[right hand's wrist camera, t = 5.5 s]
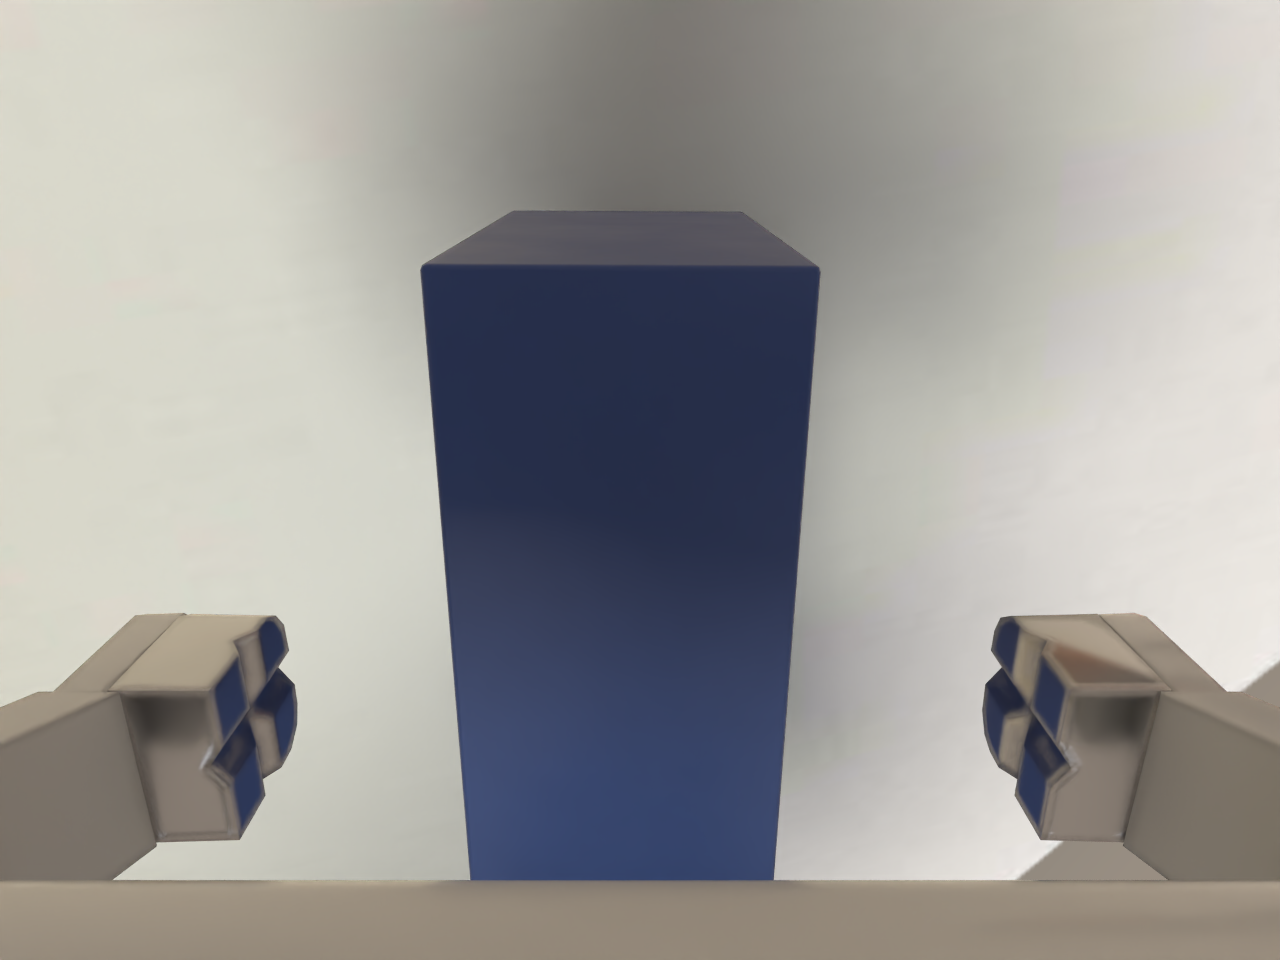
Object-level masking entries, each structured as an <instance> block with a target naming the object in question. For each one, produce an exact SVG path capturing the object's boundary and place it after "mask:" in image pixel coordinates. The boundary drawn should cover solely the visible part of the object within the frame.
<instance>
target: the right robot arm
mask: <svg viewBox="0 0 1280 960" xmlns="http://www.w3.org/2000/svg"><path fill="white" fill-rule="evenodd" d="M288 651H289V648H288V643H287V638H286V633H285V628H284V624H283V623H282V622H281V621H280V620H279V619H278V618H277V617H276V616H268V615H215V614H189V615H187V614H185V613H169V614H144V615H135V616H134V617H133V618H132V619H131V620H130V621H129V622H128V623H127V624H125V625H124V626H123V627H122V628H121V629H120V630H119V631H118V632H117V633H116V634H115V635H114V636H113V637H111V638H110V639H109V640H108V641H107V642H106V643H105V644H104V645H103V646H102V647H101V648H100V649H99V650H97V651H96V652H95V653H94V654H93V655H92V656H91V657H90V658H89V659H88V660H87V661H86V662H85V663H83V664H82V665H81V666H80V667H79V668H78V669H77V670H76V671H75V672H74V673H73V674H72V675H71V676H69V677H68V678H67V679H66V680H65V681H64V682H63V683H62V684H61V685H60V686H59V687H58V688H57V689H55V690H54V691H53V692H37V693H34V694H32V695H29V696H27V697H24V698H22V699H20V700H17V701H15V702H12V703H10V704H7V705H5V706H3V707H0V960H1280V707H1277V706H1275V705H1272V704H1270V703H1268V702H1265V701H1263V700H1260V699H1258V698H1256V697H1253V696H1251V695H1248V694H1246V693H1243V692H1227V691H1226V690H1225V689H1224V688H1222V687H1221V686H1220V685H1219V684H1218V683H1217V682H1216V681H1215V680H1214V679H1213V678H1212V677H1211V676H1210V675H1208V674H1207V673H1206V672H1205V671H1204V670H1203V669H1202V668H1201V667H1200V666H1199V665H1198V664H1197V663H1196V662H1195V661H1193V660H1192V659H1191V658H1190V657H1189V656H1188V655H1187V654H1186V653H1185V652H1184V651H1183V650H1182V649H1181V648H1179V647H1178V646H1177V645H1176V644H1175V643H1174V642H1173V641H1172V640H1171V639H1170V638H1169V637H1168V636H1167V635H1166V634H1164V633H1163V632H1162V631H1161V630H1160V629H1159V628H1158V627H1157V626H1156V625H1155V624H1154V623H1153V622H1152V621H1150V620H1149V619H1148V618H1147V617H1146V616H1143V615H1140V614H1136V613H1120V614H1077V615H1036V616H1009V617H1002V618H1000V620H999V622H998V624H997V627H996V629H995V631H994V637H993V642H992V648H991V651H992V653H993V654H994V656H995V657H996V659H997V660H998V662H999V664H1000V665H1001V667H1002V668H1001V669H1000V670H999V671H998V672H997V673H996V674H995V675H994V676H993V677H992V678H991V679H990V680H989V681H988V682H987V683H986V684H985V692H984V700H983V708H982V712H983V723H984V734H985V737H986V740H987V744H988V747H989V750H990V752H991V754H992V756H993V758H994V760H995V762H996V763H997V765H998V767H999V768H1001V769H1002V770H1004V771H1005V772H1007V773H1009V774H1010V775H1012V776H1013V777H1015V778H1016V779H1017V784H1016V790H1015V797H1016V799H1017V800H1018V802H1019V804H1020V805H1021V807H1022V809H1023V811H1024V812H1025V814H1026V816H1027V818H1028V819H1029V821H1030V823H1031V824H1032V826H1033V828H1034V830H1035V831H1036V833H1037V835H1038V836H1039V838H1040V840H1059V841H1097V842H1124V844H1123V846H1124V847H1125V848H1127V849H1128V850H1129V851H1131V852H1132V853H1133V854H1135V855H1136V856H1137V857H1139V858H1140V859H1141V860H1142V861H1144V862H1145V863H1146V864H1148V865H1149V866H1150V867H1152V868H1153V869H1154V870H1156V871H1157V872H1158V873H1160V874H1161V875H1162V876H1164V877H1165V878H1166V879H1168V880H113V879H114V878H115V877H117V876H118V875H119V874H121V873H122V872H123V871H125V870H126V869H127V868H129V867H130V866H131V865H133V864H134V863H135V862H137V861H138V860H139V859H140V858H142V857H143V856H144V855H146V854H147V853H148V852H150V851H151V850H152V849H154V848H155V847H156V846H157V844H156V842H183V841H219V840H240V838H241V837H242V835H243V833H244V831H245V830H246V828H247V826H248V825H249V823H250V821H251V819H252V818H253V816H254V814H255V812H256V811H257V809H258V807H259V806H260V804H261V802H262V800H263V799H264V797H265V790H264V784H263V779H264V778H265V777H267V776H268V775H270V774H272V773H273V772H275V771H276V770H278V769H279V768H281V767H282V765H283V763H284V762H285V760H286V758H287V756H288V754H289V752H290V750H291V748H292V743H293V739H294V735H295V731H296V727H297V698H296V691H295V684H294V683H293V682H292V681H291V680H290V679H289V678H288V677H287V676H286V675H285V674H284V673H283V672H282V671H281V670H280V669H279V668H278V667H279V665H280V664H281V662H282V660H283V659H284V657H285V656H286V654H287V653H288Z"/></svg>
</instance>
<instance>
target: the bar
mask: <svg viewBox="0 0 1280 960" xmlns="http://www.w3.org/2000/svg"><path fill="white" fill-rule="evenodd" d="M420 271H421V283H422V295H423V308H424V320H425V332H426V344H427V356H428V369H429V381H430V393H431V405H432V417H433V429H434V442H435V454H436V466H437V478H438V490H439V503H440V515H441V527H442V539H443V551H444V563H445V576H446V588H447V600H448V612H449V624H450V637H451V649H452V661H453V673H454V685H455V697H456V710H457V722H458V734H459V746H460V758H461V771H462V783H463V795H464V807H465V819H466V831H467V844H468V856H469V868H470V880H774V869H775V856H776V843H777V830H778V817H779V804H780V791H781V778H782V765H783V752H784V739H785V726H786V713H787V700H788V687H789V675H790V662H791V649H792V636H793V623H794V610H795V597H796V584H797V571H798V558H799V545H800V532H801V519H802V506H803V493H804V480H805V468H806V455H807V442H808V429H809V416H810V403H811V390H812V377H813V364H814V351H815V338H816V325H817V312H818V299H819V286H820V273H821V272H820V269H819V267H818V266H816V265H815V264H814V263H812V262H811V261H809V260H808V259H807V258H805V257H804V256H803V255H801V254H800V253H798V252H797V251H796V250H794V249H793V248H791V247H790V246H789V245H787V244H786V243H784V242H783V241H782V240H780V239H779V238H777V237H776V236H775V235H773V234H772V233H770V232H769V231H768V230H766V229H765V228H763V227H762V226H761V225H759V224H758V223H756V222H755V221H754V220H752V219H751V218H750V217H748V216H747V215H745V214H744V213H742V212H675V211H512V212H510V213H509V214H507V215H505V216H504V217H502V218H500V219H499V220H497V221H495V222H494V223H492V224H490V225H489V226H487V227H485V228H484V229H482V230H480V231H479V232H477V233H475V234H474V235H472V236H470V237H469V238H467V239H465V240H463V241H462V242H460V243H458V244H457V245H455V246H453V247H452V248H450V249H448V250H447V251H445V252H443V253H442V254H440V255H438V256H437V257H435V258H433V259H432V260H430V261H428V262H427V263H425V264H423V265H422V267H421V270H420Z"/></svg>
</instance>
